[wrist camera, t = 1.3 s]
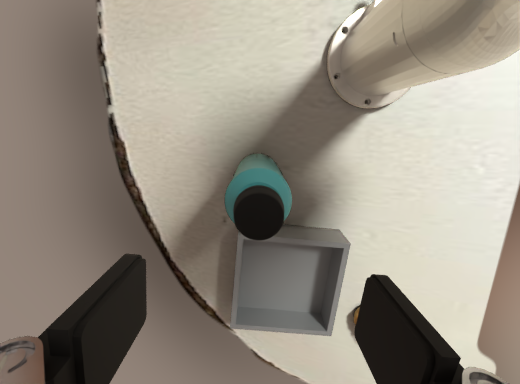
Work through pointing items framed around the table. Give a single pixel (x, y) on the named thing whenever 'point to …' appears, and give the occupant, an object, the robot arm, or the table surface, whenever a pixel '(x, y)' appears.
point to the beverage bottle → (258, 198)
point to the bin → (289, 281)
